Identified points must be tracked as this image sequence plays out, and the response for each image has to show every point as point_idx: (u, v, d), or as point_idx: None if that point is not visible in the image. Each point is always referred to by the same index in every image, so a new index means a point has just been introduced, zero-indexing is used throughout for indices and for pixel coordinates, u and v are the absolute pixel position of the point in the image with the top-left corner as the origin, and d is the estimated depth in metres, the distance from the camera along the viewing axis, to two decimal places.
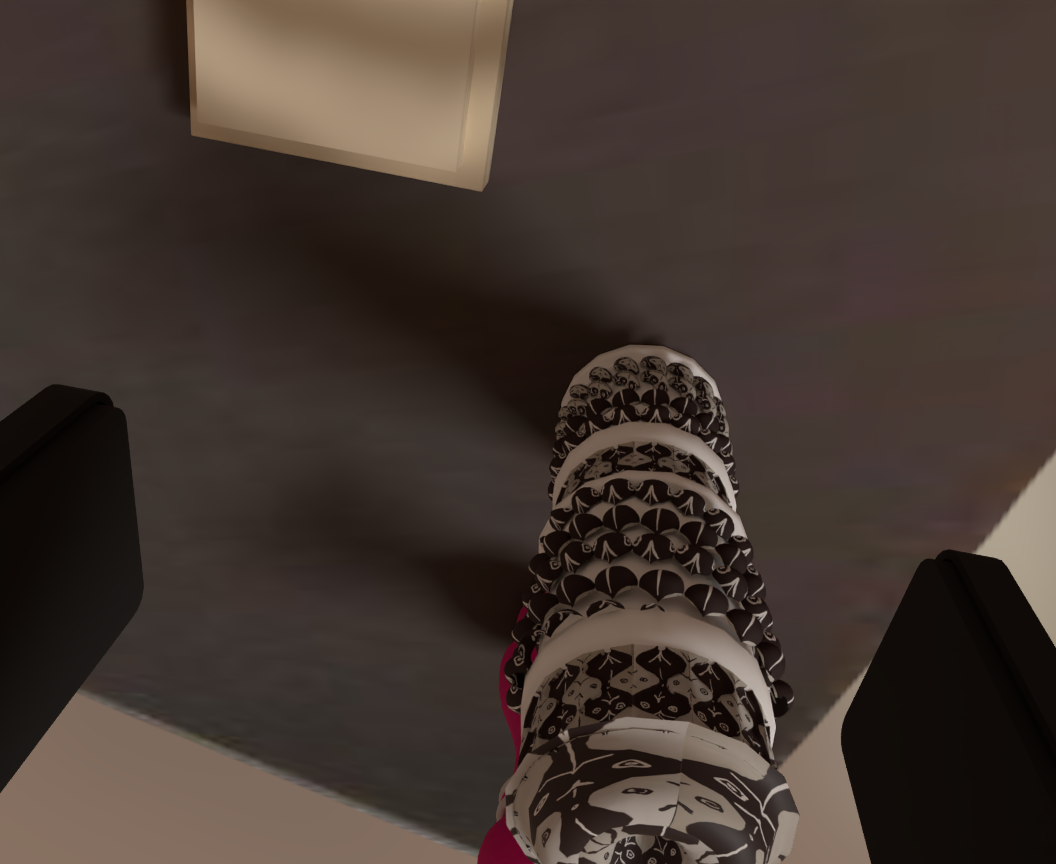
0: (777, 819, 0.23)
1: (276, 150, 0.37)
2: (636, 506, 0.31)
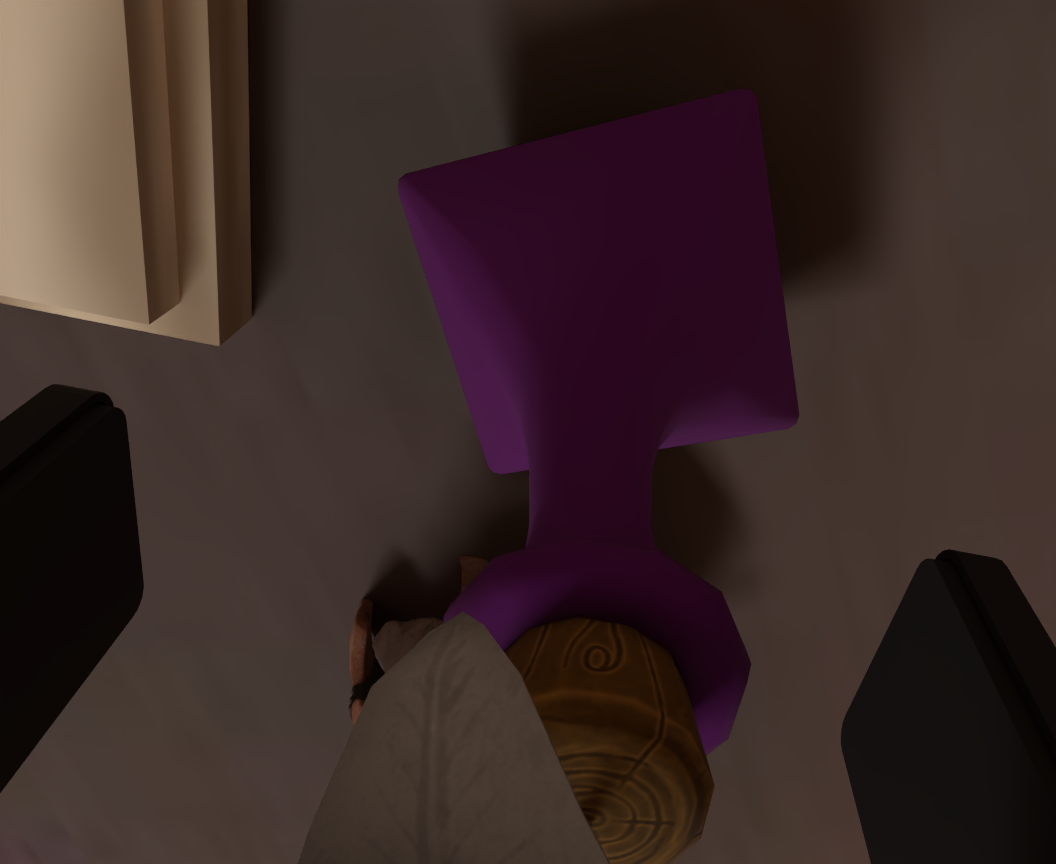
0: None
1: None
2: None
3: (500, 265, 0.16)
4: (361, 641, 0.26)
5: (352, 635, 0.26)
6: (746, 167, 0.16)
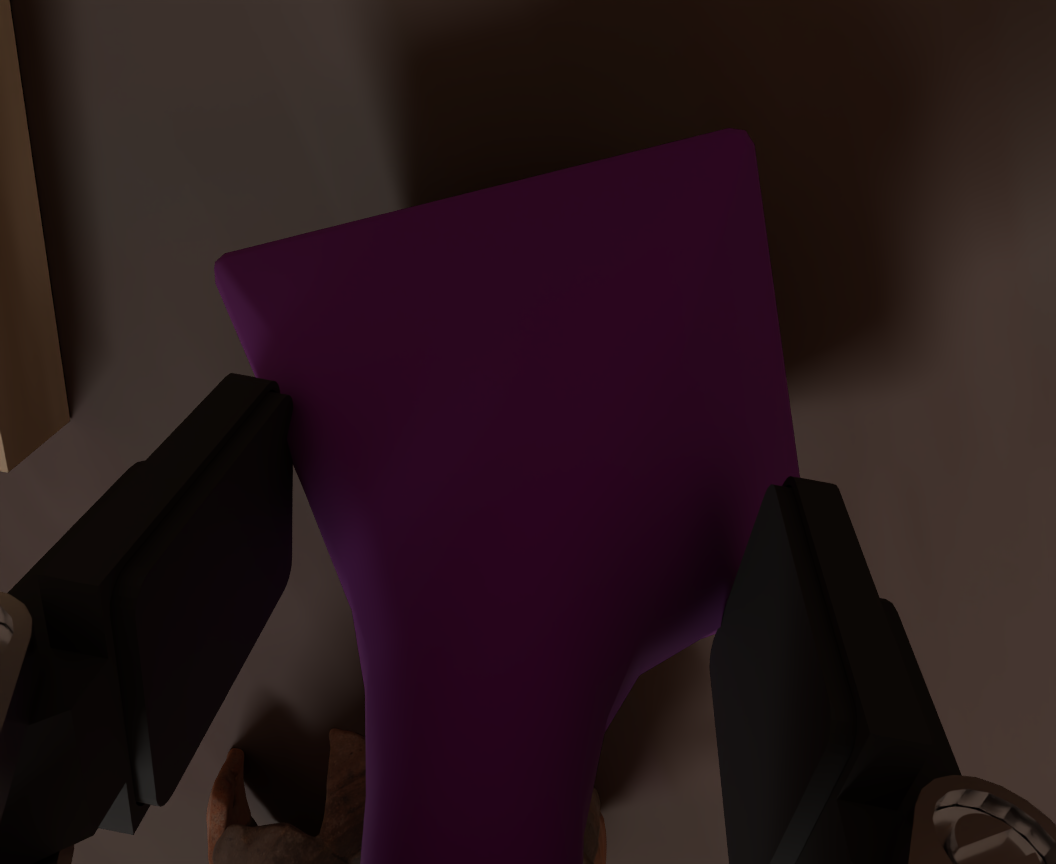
0: None
1: None
2: None
3: (346, 421, 0.10)
4: (220, 818, 0.20)
5: (209, 808, 0.20)
6: (739, 253, 0.10)
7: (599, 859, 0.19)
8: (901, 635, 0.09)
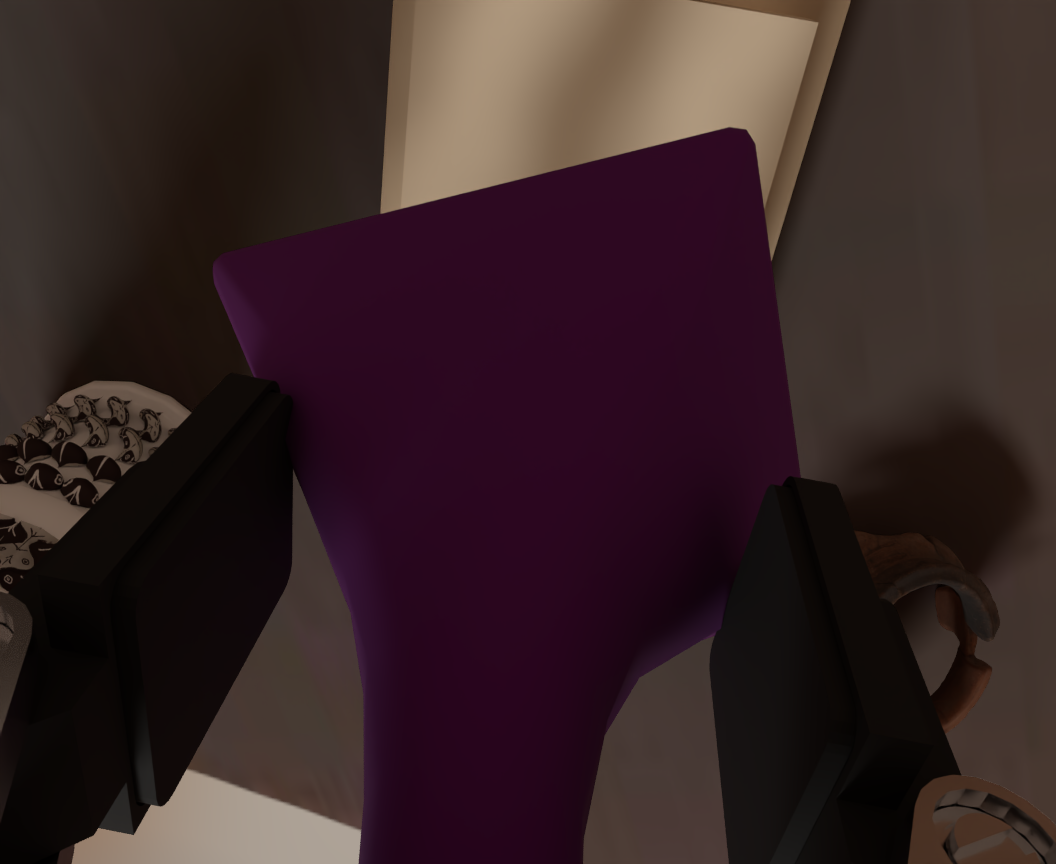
0: None
1: (391, 53, 0.26)
2: None
3: (345, 421, 0.10)
4: None
5: None
6: (740, 252, 0.10)
7: None
8: (901, 636, 0.09)
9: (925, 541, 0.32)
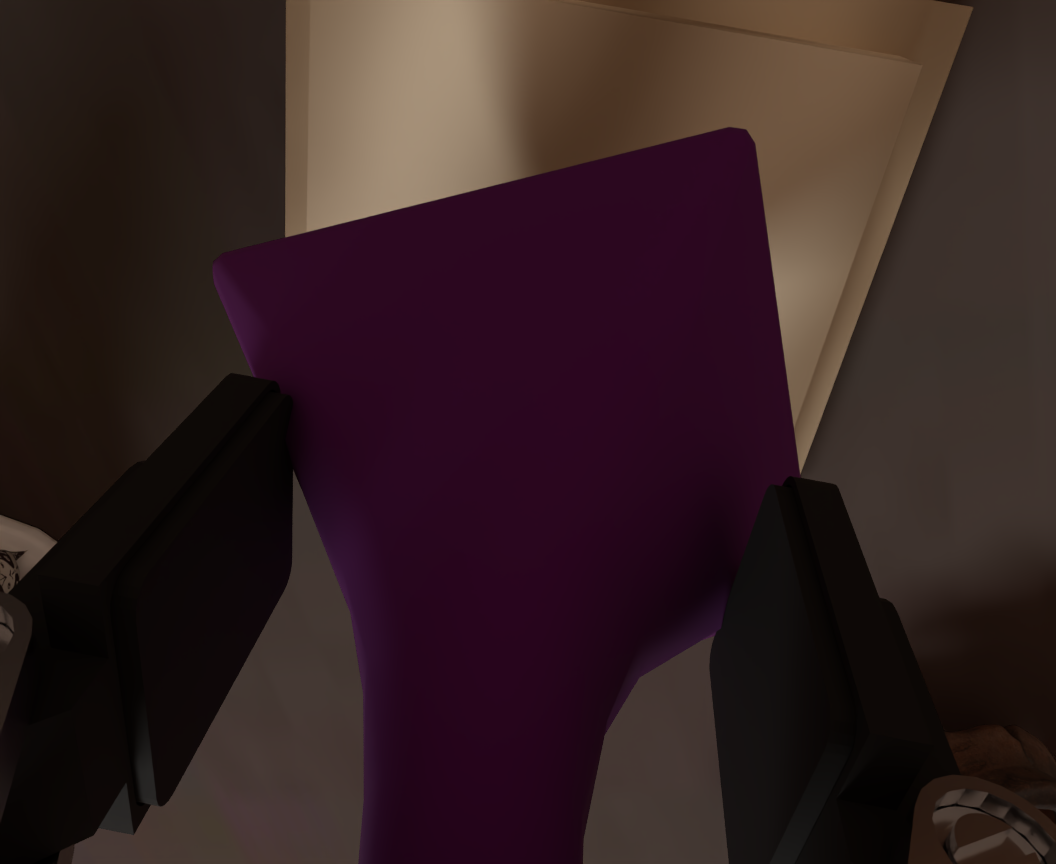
0: None
1: (288, 102, 0.18)
2: None
3: (345, 421, 0.10)
4: None
5: None
6: (740, 252, 0.10)
7: None
8: (901, 635, 0.09)
9: (1009, 738, 0.24)
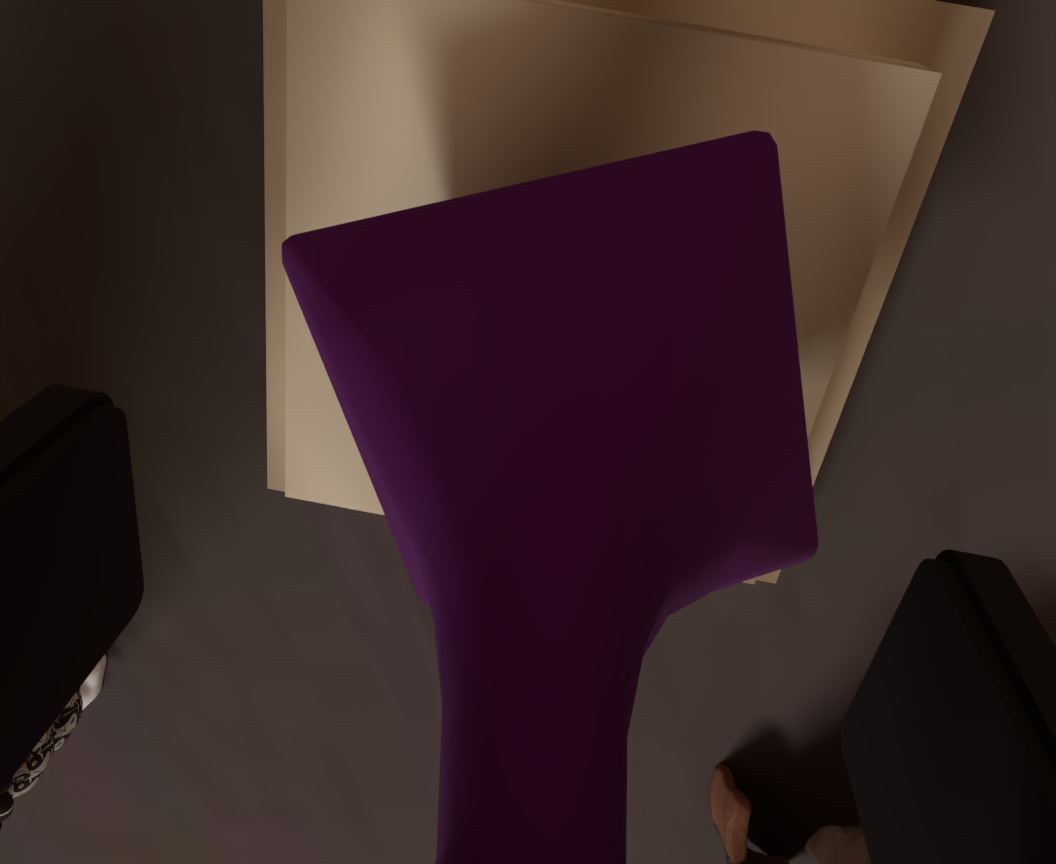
0: None
1: (266, 111, 0.17)
2: None
3: (412, 389, 0.11)
4: (745, 820, 0.26)
5: (732, 813, 0.26)
6: (761, 243, 0.12)
7: None
8: None
9: None
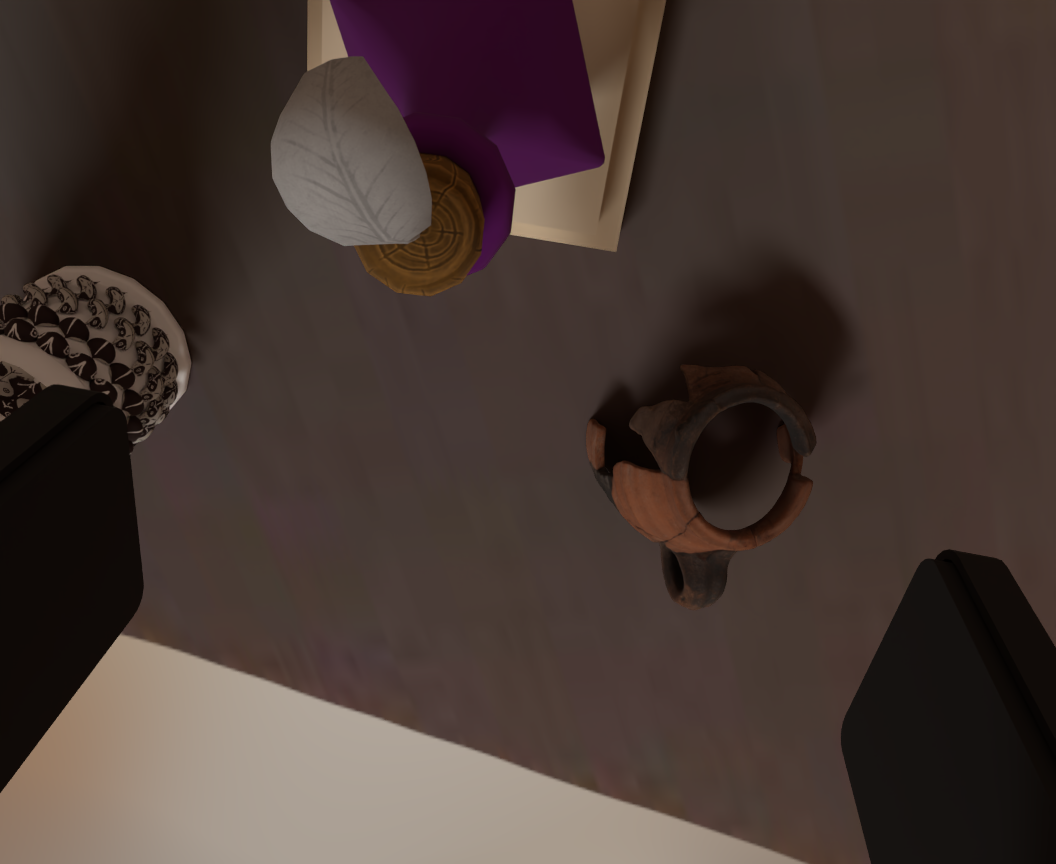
0: None
1: None
2: None
3: (392, 27, 0.25)
4: (602, 439, 0.40)
5: (595, 436, 0.40)
6: None
7: None
8: None
9: (750, 372, 0.37)
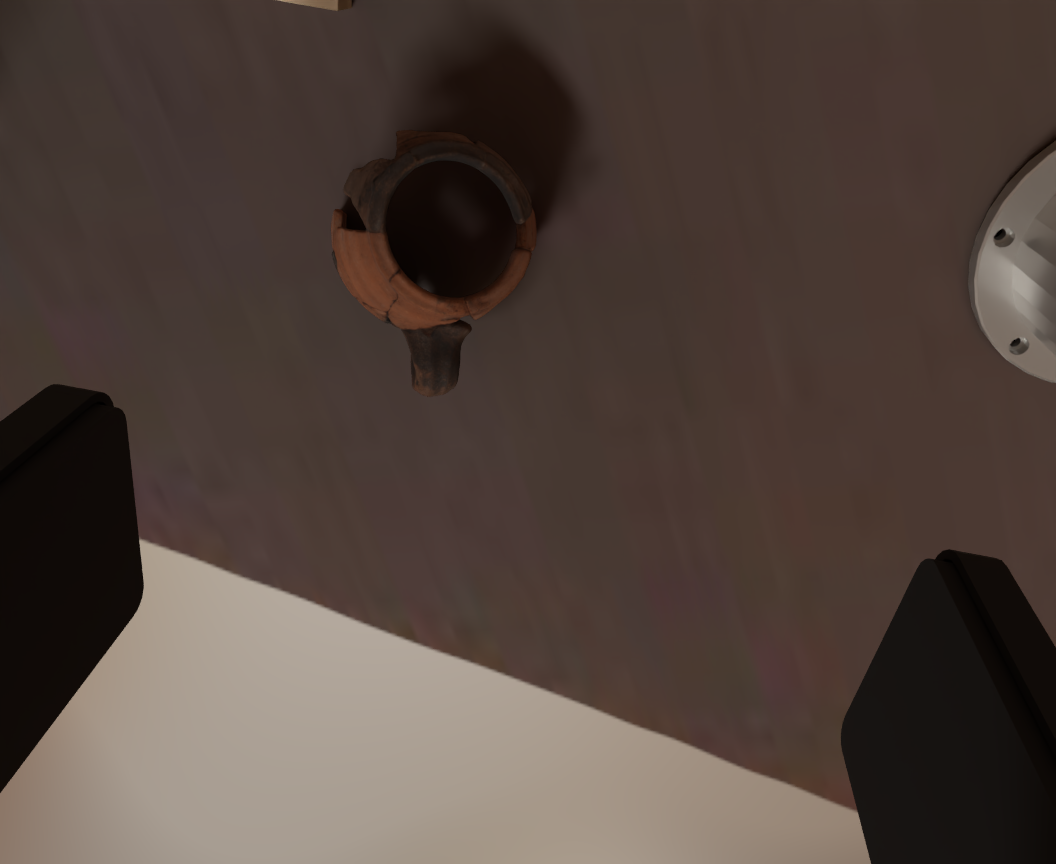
0: None
1: None
2: None
3: None
4: (339, 222, 0.40)
5: (332, 219, 0.40)
6: None
7: (530, 216, 0.38)
8: None
9: (465, 139, 0.37)
